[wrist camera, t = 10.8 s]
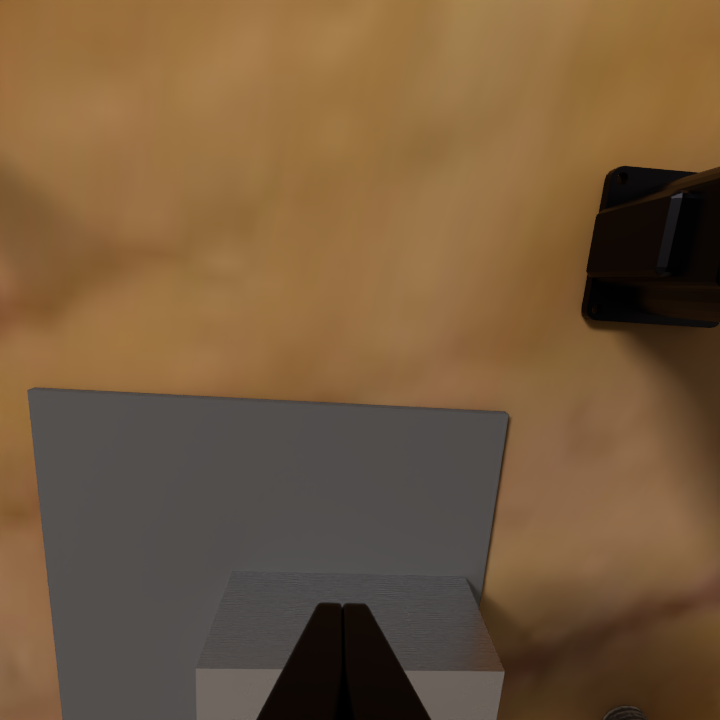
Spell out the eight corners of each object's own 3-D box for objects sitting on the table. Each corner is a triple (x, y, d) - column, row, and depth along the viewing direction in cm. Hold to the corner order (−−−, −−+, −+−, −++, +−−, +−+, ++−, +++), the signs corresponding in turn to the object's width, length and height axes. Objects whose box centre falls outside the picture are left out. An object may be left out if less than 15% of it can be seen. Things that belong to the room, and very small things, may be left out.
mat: (505, 411, 19) (508, 414, 18) (452, 758, 23) (454, 767, 23) (34, 387, 17) (27, 389, 17) (72, 760, 22) (68, 768, 21)
